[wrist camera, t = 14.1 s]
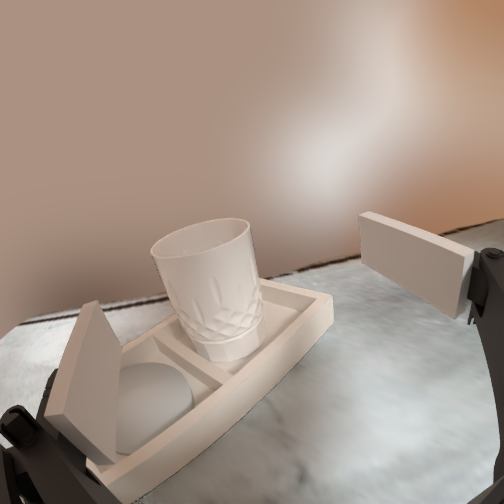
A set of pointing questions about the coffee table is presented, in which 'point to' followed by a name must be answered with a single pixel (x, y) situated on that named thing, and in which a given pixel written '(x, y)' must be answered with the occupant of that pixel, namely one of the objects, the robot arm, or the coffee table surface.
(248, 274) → the white cup
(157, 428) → the grey flat disc
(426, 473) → the coffee table surface
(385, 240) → the robot arm
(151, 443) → the tray
